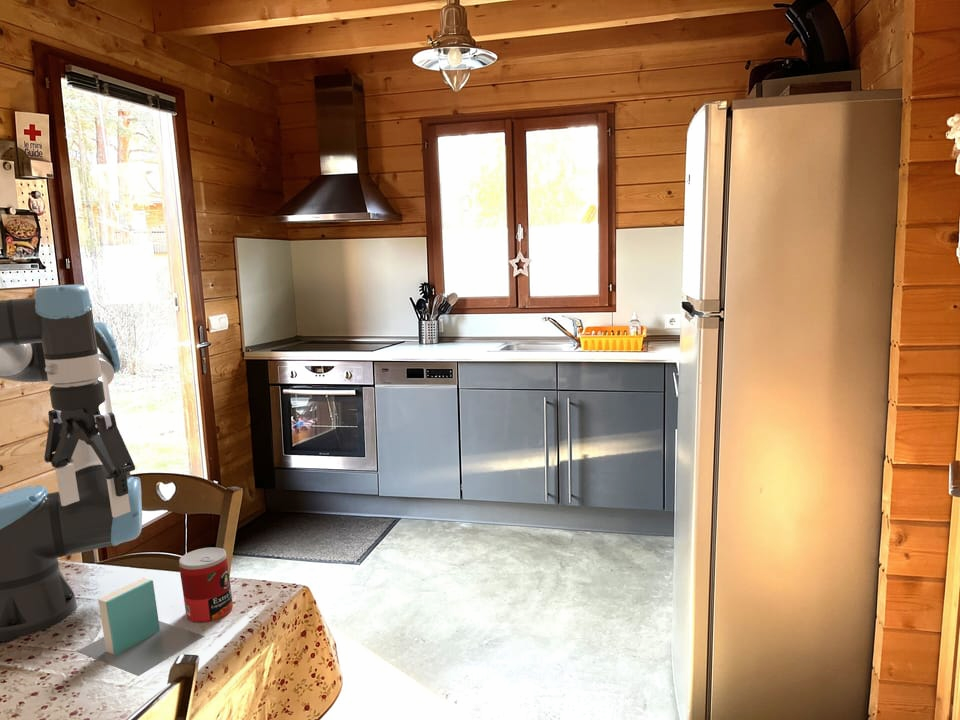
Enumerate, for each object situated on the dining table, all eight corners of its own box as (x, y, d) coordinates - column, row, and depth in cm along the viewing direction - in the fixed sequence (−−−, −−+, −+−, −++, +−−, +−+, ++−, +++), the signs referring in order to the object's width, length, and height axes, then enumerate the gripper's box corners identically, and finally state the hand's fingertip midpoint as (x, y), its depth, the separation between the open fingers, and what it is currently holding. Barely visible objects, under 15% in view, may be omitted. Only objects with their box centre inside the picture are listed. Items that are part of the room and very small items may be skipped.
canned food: (218, 627, 121) (210, 566, 119) (176, 625, 122) (168, 565, 121) (242, 604, 128) (235, 547, 126) (202, 603, 130) (195, 546, 128)
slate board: (77, 654, 115) (76, 651, 115) (144, 619, 125) (143, 615, 125) (139, 679, 107) (138, 675, 107) (205, 639, 117) (204, 635, 117)
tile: (106, 651, 114) (98, 599, 113) (150, 627, 121) (143, 577, 119) (115, 655, 113) (107, 602, 111) (160, 630, 120) (152, 580, 118)
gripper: (7, 383, 116) (28, 506, 119) (102, 391, 104) (123, 528, 108) (52, 374, 122) (71, 491, 126) (147, 381, 110) (165, 510, 114)
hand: (95, 508), depth 117 cm, fingers open, 13 cm apart
